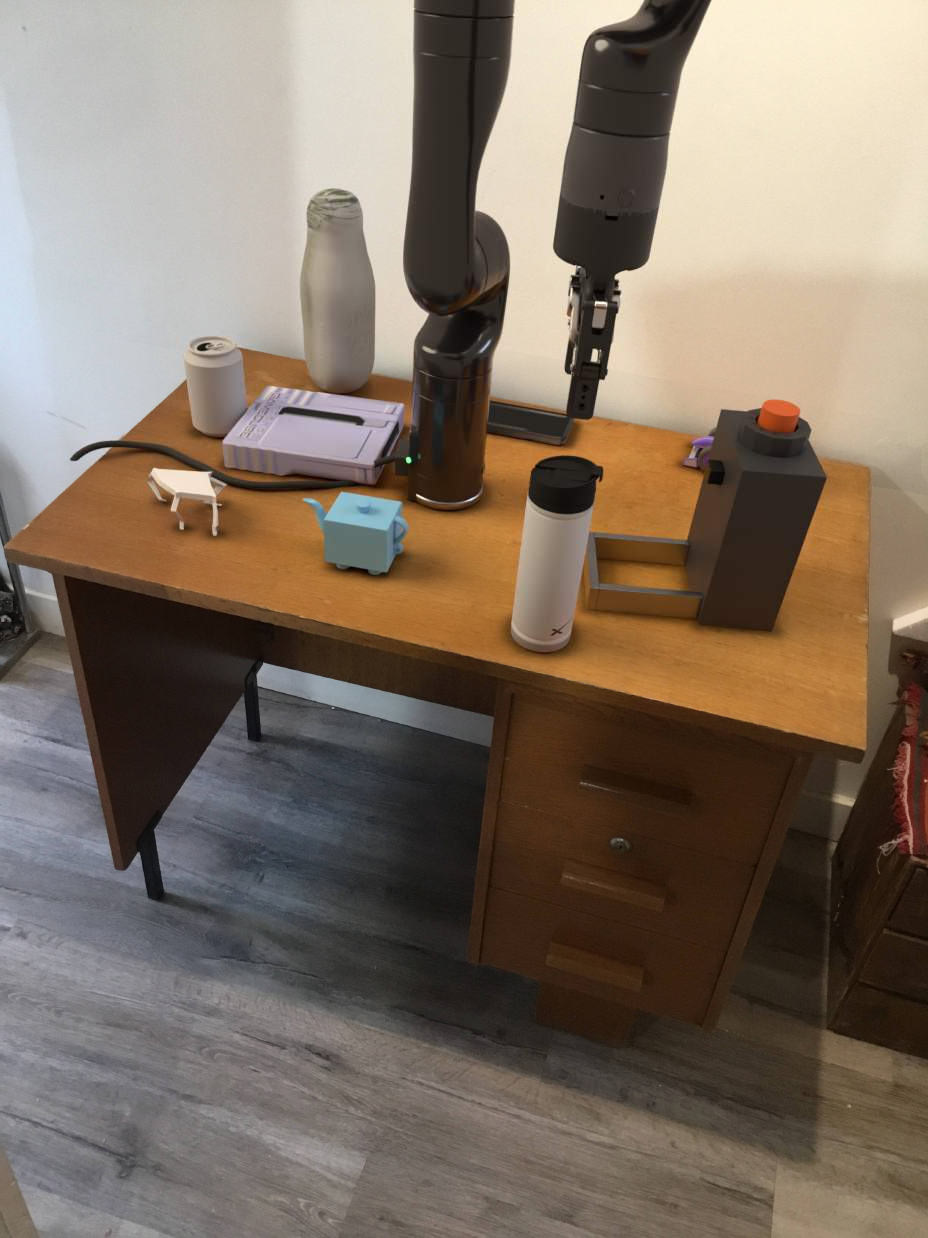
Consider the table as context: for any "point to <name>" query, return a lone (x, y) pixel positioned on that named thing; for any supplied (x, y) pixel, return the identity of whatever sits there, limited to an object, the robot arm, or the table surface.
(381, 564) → the teapot
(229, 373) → the can
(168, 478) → the origami figure
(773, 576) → the coffee maker
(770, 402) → the button
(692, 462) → the toy race car
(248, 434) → the gaming console
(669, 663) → the table surface
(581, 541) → the travel mug
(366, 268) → the grey bottle
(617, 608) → the frame
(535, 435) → the phone
